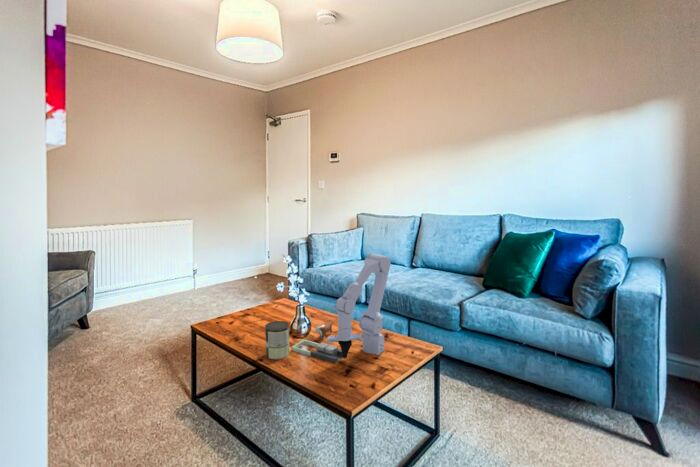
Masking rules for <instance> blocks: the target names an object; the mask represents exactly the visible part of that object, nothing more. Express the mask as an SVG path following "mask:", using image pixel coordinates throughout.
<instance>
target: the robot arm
mask: <svg viewBox="0 0 700 467" xmlns="http://www.w3.org/2000/svg"><path fill="white" fill-rule="evenodd" d="M363 262H364V263H363V264H364V265H363V267H362V269H361V270H360V272H359V274H358V276H357V278H356V279H355V282H354V281H353V282H350V284H349V285H348V288H347V289H346V290H345V292H344V294H342V296H341V297H339V298H338V299H337V300H336V301H335V304H334V308H335V310H336V313H337V334H336V335H330V336H326V337H327V338H326V340H327V344H331V343H338V344H339V347H340V350H342V354H343V358H342V359H347V358H348V354H349V351H350V348H351V346H352V345H353V341H358V340H359V341H362V351H363V353H366V354H373V355H377V356H379V355H380V354H382V353H383V352H384V351H385V336H384V334H382V333H381V332H382V330H383V327H384V325H383V324H384V323H383V322H384V321H383V320H384V317H383V316H382V314H381V313H380V311H381V307H382V303H383V298H384V294H385V290H386V285H387V281H388V276H389V271H390V267H391V264H392V262H391V259H390V258H389V257H388V256H387V255H382V254H376V253H372V252H369V253H368V254H367V255H366V258H364V261H363ZM372 273H374V276H375V277H374V280H373V281H374V282H373V285H372V290H371V293H370V297H369V302H368V306H367V309H366V310H365V311H363V312H362V315H361V317H360V319H359V320H358V326H359V328H360V329H361V332H362V334H361V333H352V332H353V331H352V328H353V327H352V326H353V325H352V324H353V323H352V322H353V321H352V316H353V315H352V314H353V312H354V310H355V307H356V302H357V300H358V298H359V296H360V295H361V294H362V292H363V285H364V284H365V283H366V282H367V280H368V279H369V277H370V276H371V275H372Z"/></svg>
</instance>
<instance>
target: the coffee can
mask: <svg viewBox="0 0 700 467" xmlns="http://www.w3.org/2000/svg"><path fill="white" fill-rule="evenodd" d="M264 330H265V357H266V358H268V359H270V360H283V359H286V358H287V357H289V356H290V323H288V322H287V321H285V320H283V321H281V320H274V321H271V322H268V323H266V324H265V325H264Z"/></svg>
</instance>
